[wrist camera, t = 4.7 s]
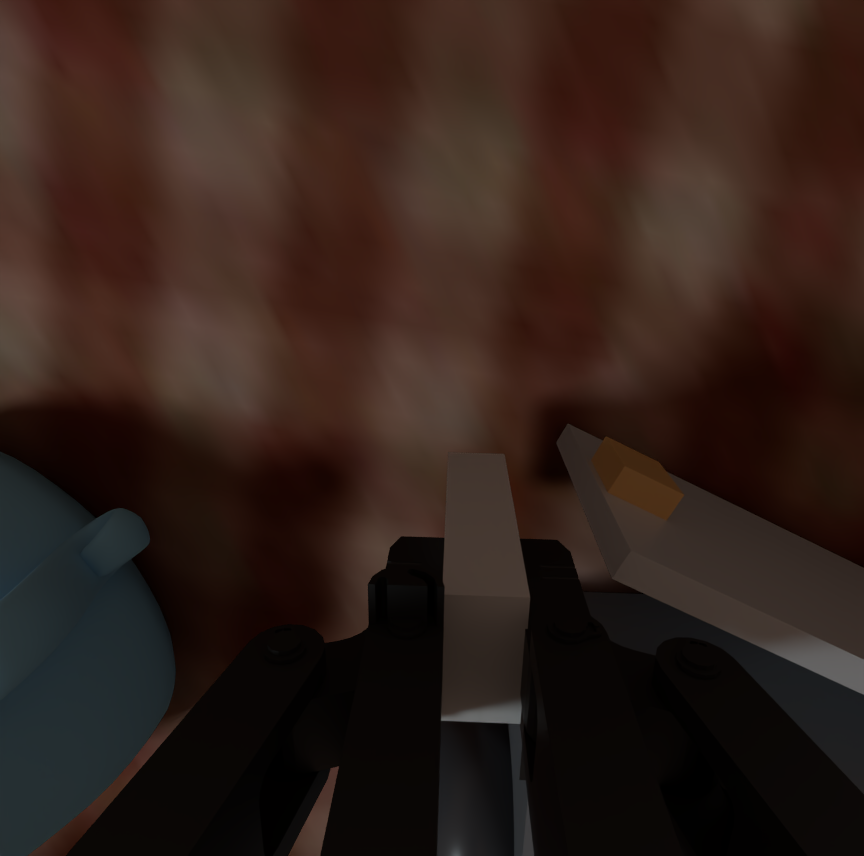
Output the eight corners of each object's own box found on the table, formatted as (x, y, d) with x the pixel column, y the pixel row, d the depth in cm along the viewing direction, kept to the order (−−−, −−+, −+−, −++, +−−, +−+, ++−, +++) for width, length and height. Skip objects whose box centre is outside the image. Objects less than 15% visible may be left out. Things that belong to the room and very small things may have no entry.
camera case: (428, 805, 25) (413, 1103, 17) (433, 586, 22) (417, 822, 13) (801, 823, 25) (975, 1138, 16) (864, 602, 21) (1123, 856, 13)
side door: (553, 446, 20) (607, 584, 12) (580, 402, 19) (652, 519, 12) (887, 607, 21) (1104, 812, 14) (920, 569, 20) (1164, 762, 13)
